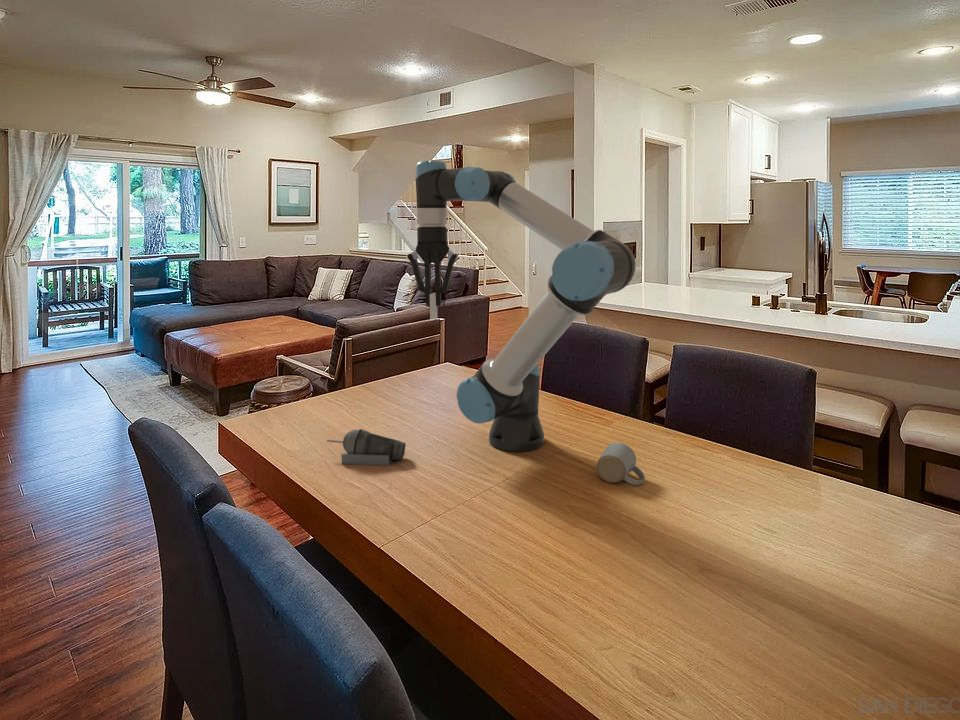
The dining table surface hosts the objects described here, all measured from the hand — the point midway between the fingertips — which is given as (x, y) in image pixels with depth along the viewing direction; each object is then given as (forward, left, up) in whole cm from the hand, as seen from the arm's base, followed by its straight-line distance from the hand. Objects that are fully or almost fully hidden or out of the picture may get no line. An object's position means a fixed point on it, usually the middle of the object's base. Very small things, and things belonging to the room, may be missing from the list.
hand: (433, 318), depth 153 cm
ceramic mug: (-47, +19, -35) cm, 62 cm away
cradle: (+15, +12, -34) cm, 39 cm away
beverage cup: (+6, +13, -32) cm, 35 cm away
